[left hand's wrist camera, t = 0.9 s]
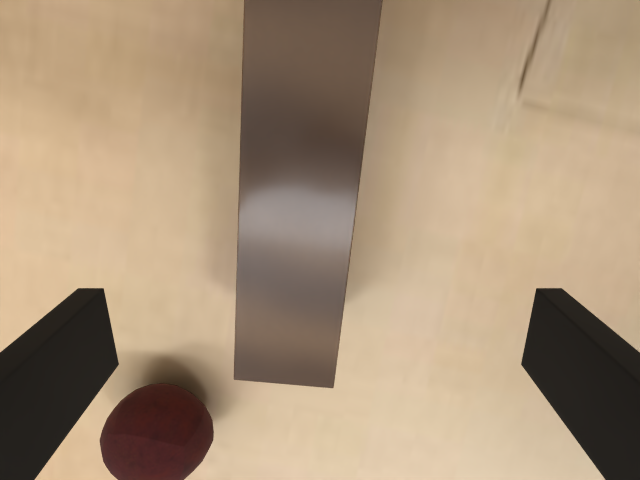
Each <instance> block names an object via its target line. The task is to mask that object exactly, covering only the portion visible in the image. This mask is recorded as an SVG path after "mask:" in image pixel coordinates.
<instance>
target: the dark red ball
mask: <svg viewBox="0 0 640 480" xmlns="http://www.w3.org/2000/svg"><path fill="white" fill-rule="evenodd" d="M213 433H214V431H213V422H212V419H211V416H210V414H209V412H208V411H207V409H206V407H205V405H204V404H203V403H202V402H201V401H200V400H199V399H197V398H196V397H195V396H194V395H193V394H192V393H191V392H189V391H187V390H185V389H183V388H181V387H179V386H177V385H171V384H163V383H161V384H151V385H148V386H145V387H142V388H139V389H136V390H135V391H133V392H132V393H130V394H129V395H127V396H126V397H125V398H124V399H123V400H121V401H120V402H119V404H118V405H117V406H116V407H115V408H114V410H113V411H112V412H111V414H110V415H109V417H108V418H107V420H106V423H105V425H104V427H103V430H102V433H101V437H100V446H101V452H102V457H103V462H104V463H105V465H106V467H107V468H108V470H109V471H110V473H111V474H112V475H113V476H114V477H116V478H117V479H118V480H184V479H185V478H186V477H187V476H188V475H189V474H191V473H192V472H193V471H194V470H195V469H196V468H197V466H198V465H199V464H200V463H201V462H202V461H203V459H204V457H205V455H206V454H207V452H208V450H209V448H210V446H211V444H212V441H213Z"/></svg>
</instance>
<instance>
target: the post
mask: <svg viewBox="0 0 640 480" xmlns="http://www.w3.org/2000/svg"><path fill="white" fill-rule="evenodd" d="M381 8H382V0H244V28H243V64H242V100H241V136H240V173H239V209H238V245H237V281H236V318H235V354H234V380H244V381H256V382H267V383H279V384H290V385H302V386H314V387H325V388H333V387H334V380H335V373H336V365H337V357H338V349H339V341H340V333H341V325H342V317H343V309H344V301H345V293H346V285H347V278H348V270H349V262H350V254H351V246H352V238H353V230H354V222H355V214H356V206H357V198H358V190H359V182H360V175H361V167H362V159H363V151H364V143H365V135H366V127H367V119H368V111H369V103H370V95H371V87H372V79H373V72H374V64H375V56H376V48H377V40H378V32H379V24H380V16H381Z"/></svg>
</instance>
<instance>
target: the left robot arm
mask: <svg viewBox="0 0 640 480" xmlns="http://www.w3.org/2000/svg"><path fill="white" fill-rule="evenodd" d="M118 365H119V363H118V358H117V353H116V348H115V343H114V338H113V333H112V328H111V323H110V318H109V313H108V308H107V303H106V298H105V293H104V288H78V289H77V290H76V291H75V292H73V293H72V294H71V295H70V296H68V297H67V298H66V299H65V300H64V301H62V302H61V303H60V304H59V305H58V306H56V307H55V308H54V309H53V310H51V311H50V312H49V313H48V314H47V315H45V316H44V317H43V318H42V319H41V320H39V321H38V322H37V323H36V324H34V325H33V326H32V327H31V328H30V329H28V330H27V331H26V332H25V333H24V334H22V335H21V336H20V337H19V338H17V339H16V340H15V341H14V342H13V343H11V344H10V345H9V346H8V347H7V348H5V349H4V350H3V351H2V352H0V480H35V478H36V477H37V475H38V474H39V473H40V471H41V470H42V469H43V467H44V466H45V465H46V463H47V462H48V460H49V459H50V458H51V456H52V455H53V454H54V452H55V451H56V450H57V448H58V447H59V445H60V444H61V443H62V441H63V440H64V439H65V437H66V436H67V434H68V433H69V432H70V430H71V429H72V428H73V426H74V425H75V424H76V422H77V421H78V419H79V418H80V417H81V415H82V414H83V413H84V411H85V410H86V409H87V407H88V406H89V404H90V403H91V402H92V400H93V399H94V398H95V396H96V395H97V393H98V392H99V391H100V389H101V388H102V387H103V385H104V384H105V383H106V381H107V380H108V378H109V377H110V376H111V374H112V373H113V372H114V370H115V369H116V368H117V366H118ZM521 365H522V366H523V368H524V369H525V370H526V372H527V373H528V374H529V376H530V377H531V378H532V380H533V381H534V383H535V384H536V385H537V387H538V388H539V389H540V391H541V392H542V393H543V395H544V396H545V398H546V399H547V400H548V402H549V403H550V404H551V406H552V407H553V409H554V410H555V411H556V413H557V414H558V415H559V417H560V418H561V419H562V421H563V422H564V424H565V425H566V426H567V428H568V429H569V430H570V432H571V433H572V434H573V436H574V437H575V439H576V440H577V441H578V443H579V444H580V445H581V447H582V448H583V450H584V451H585V452H586V454H587V455H588V456H589V458H590V459H591V460H592V462H593V463H594V465H595V466H596V467H597V469H598V470H599V471H600V473H601V474H602V475H603V477H604V478H605V480H640V352H638V351H637V350H636V349H635V348H633V347H632V346H631V345H630V344H629V343H627V342H626V341H625V340H624V339H623V338H621V337H620V336H619V335H618V334H616V333H615V332H614V331H613V330H612V329H610V328H609V327H608V326H607V325H606V324H604V323H603V322H602V321H601V320H599V319H598V318H597V317H596V316H595V315H593V314H592V313H591V312H590V311H589V310H587V309H586V308H585V307H584V306H582V305H581V304H580V303H579V302H578V301H576V300H575V299H574V298H573V297H572V296H570V295H569V294H568V293H567V292H565V291H564V290H563V289H562V288H536V293H535V298H534V303H533V308H532V313H531V318H530V323H529V328H528V333H527V338H526V343H525V348H524V353H523V358H522V363H521Z"/></svg>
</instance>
